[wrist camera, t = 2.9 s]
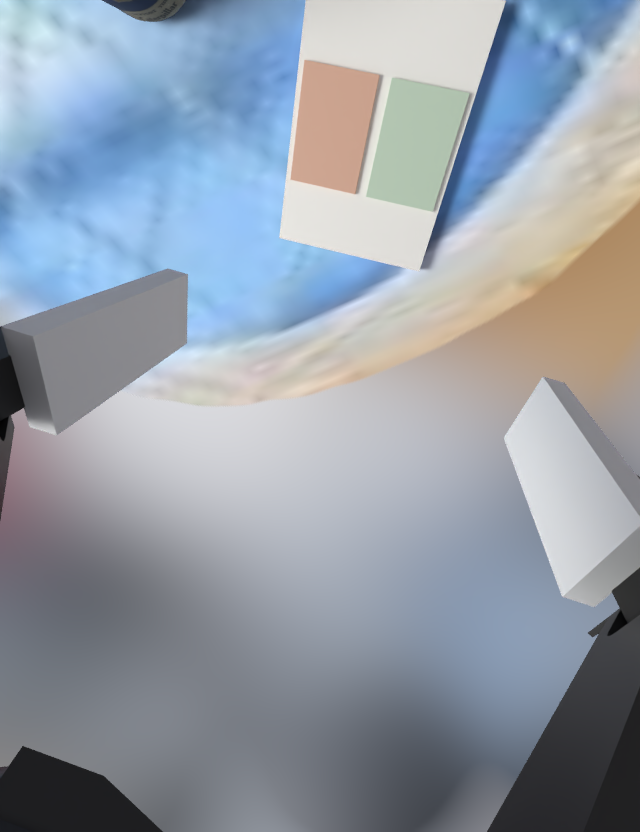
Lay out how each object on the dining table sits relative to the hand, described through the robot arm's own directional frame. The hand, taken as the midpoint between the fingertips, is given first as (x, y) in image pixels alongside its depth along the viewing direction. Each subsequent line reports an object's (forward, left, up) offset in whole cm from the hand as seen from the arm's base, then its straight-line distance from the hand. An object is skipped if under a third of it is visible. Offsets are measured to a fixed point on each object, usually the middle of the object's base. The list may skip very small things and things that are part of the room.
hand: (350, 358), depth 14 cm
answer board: (-8, -4, -27) cm, 28 cm away
